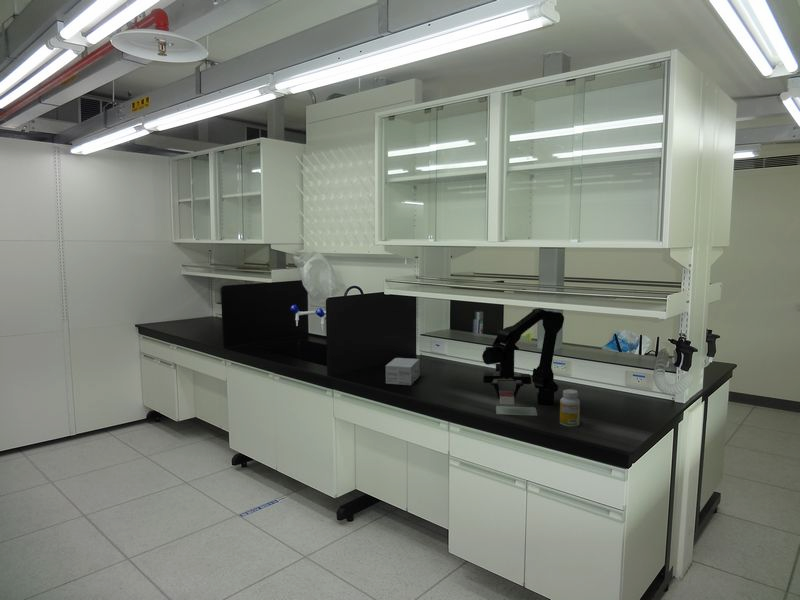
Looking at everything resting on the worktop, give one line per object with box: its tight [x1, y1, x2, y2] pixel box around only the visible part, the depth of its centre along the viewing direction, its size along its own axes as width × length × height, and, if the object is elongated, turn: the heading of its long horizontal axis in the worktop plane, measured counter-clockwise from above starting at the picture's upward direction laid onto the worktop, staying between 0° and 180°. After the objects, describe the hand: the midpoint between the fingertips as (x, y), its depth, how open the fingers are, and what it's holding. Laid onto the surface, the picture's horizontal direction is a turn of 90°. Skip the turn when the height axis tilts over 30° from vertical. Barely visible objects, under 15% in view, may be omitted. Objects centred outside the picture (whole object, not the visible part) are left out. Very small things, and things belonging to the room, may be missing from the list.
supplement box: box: [385, 357, 421, 386], centre depth 265 cm, size 17×13×9 cm
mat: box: [495, 405, 538, 417], centre depth 215 cm, size 16×10×1 cm, turn 81°
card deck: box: [499, 390, 515, 405], centre depth 214 cm, size 8×6×3 cm
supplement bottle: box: [559, 388, 581, 427], centre depth 199 cm, size 7×7×13 cm
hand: (506, 399), depth 214 cm, fingers closed on card deck, 5 cm apart
